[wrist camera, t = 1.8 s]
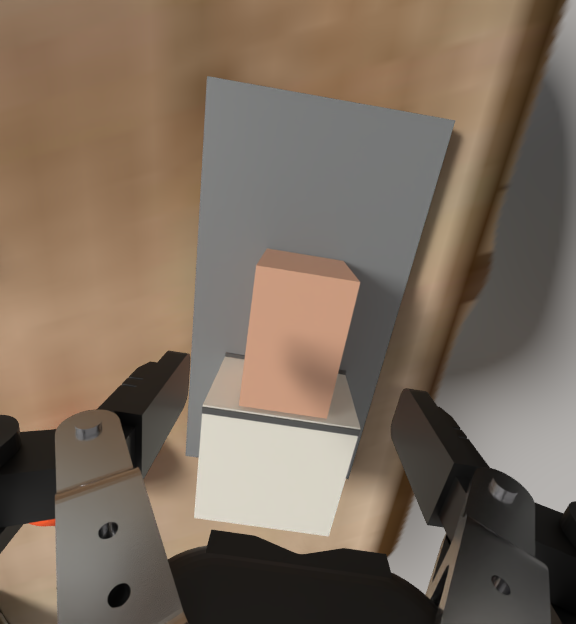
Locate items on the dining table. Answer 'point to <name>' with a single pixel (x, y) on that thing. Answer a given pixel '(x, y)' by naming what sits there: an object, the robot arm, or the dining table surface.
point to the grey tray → (309, 241)
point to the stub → (297, 332)
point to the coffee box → (2, 619)
